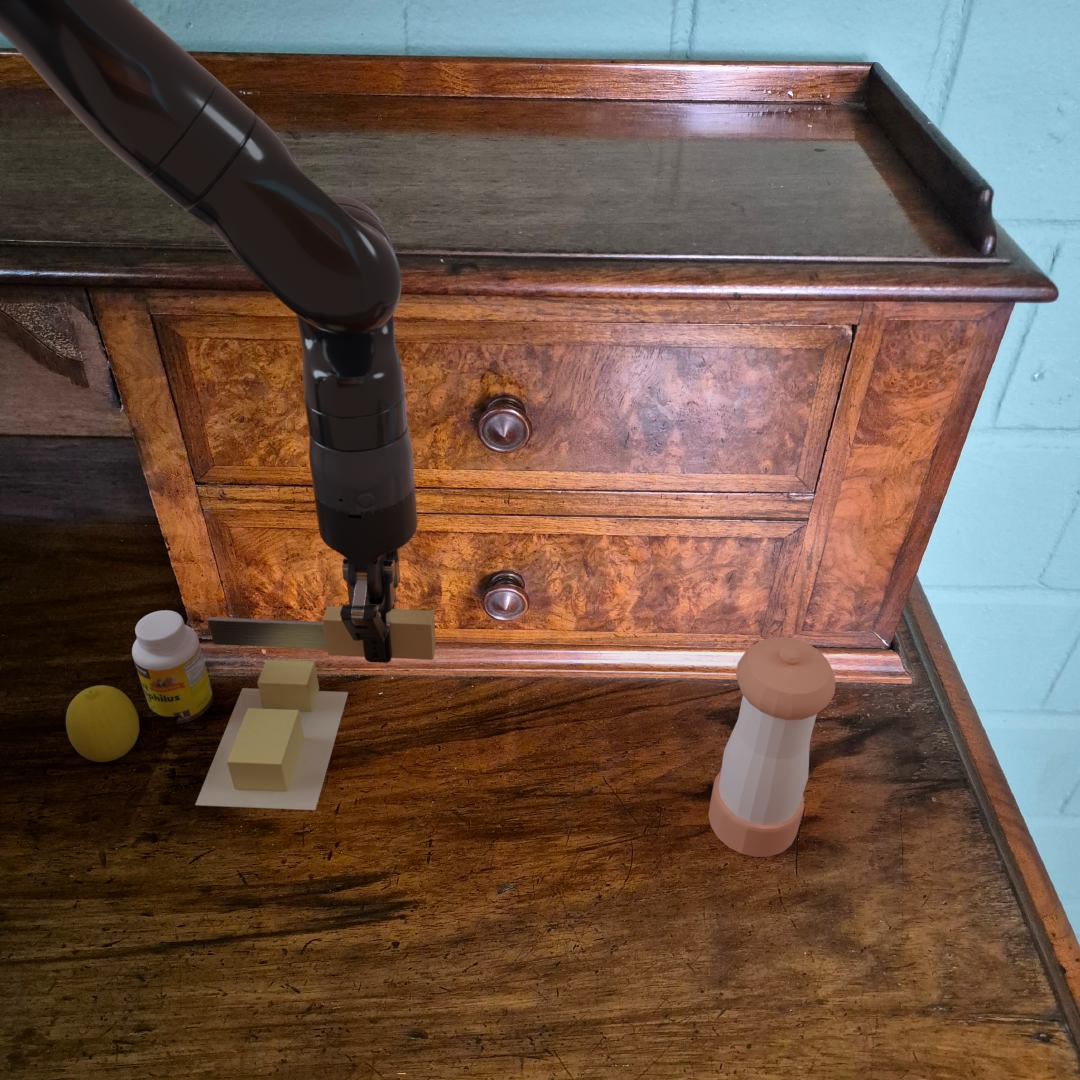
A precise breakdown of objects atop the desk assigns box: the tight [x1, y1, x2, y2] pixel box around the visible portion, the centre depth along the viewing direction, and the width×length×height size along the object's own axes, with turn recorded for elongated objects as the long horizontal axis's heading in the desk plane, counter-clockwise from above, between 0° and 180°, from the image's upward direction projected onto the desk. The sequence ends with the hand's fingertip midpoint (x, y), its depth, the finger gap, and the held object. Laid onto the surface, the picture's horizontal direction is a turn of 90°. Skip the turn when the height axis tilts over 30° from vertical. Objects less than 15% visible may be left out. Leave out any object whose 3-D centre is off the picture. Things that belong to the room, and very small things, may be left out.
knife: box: [207, 605, 437, 661], centre depth 80 cm, size 19×2×4 cm, turn 88°
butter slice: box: [256, 659, 320, 711], centre depth 87 cm, size 4×3×4 cm, turn 88°
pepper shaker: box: [707, 636, 836, 858], centre depth 73 cm, size 7×7×19 cm
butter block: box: [227, 708, 304, 791], centre depth 81 cm, size 4×6×4 cm
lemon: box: [65, 684, 140, 763], centre depth 81 cm, size 6×6×8 cm
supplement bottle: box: [131, 609, 214, 725], centre depth 85 cm, size 6×6×10 cm
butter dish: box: [194, 687, 349, 811], centre depth 83 cm, size 10×13×1 cm
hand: (381, 649), depth 81 cm, fingers closed on knife, 2 cm apart
